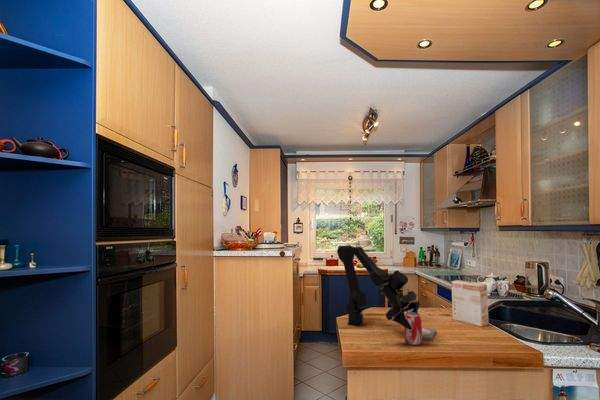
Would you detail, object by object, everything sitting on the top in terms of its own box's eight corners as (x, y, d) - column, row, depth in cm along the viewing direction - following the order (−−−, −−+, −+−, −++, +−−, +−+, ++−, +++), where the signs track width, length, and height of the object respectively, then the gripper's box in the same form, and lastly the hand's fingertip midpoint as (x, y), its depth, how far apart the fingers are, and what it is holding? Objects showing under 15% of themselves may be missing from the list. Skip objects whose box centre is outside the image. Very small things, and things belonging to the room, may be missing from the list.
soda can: (423, 346, 138) (422, 316, 138) (405, 345, 139) (404, 316, 140) (421, 340, 145) (420, 311, 145) (403, 339, 146) (403, 311, 147)
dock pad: (403, 335, 150) (403, 332, 150) (409, 328, 160) (409, 325, 161) (431, 340, 144) (431, 337, 144) (436, 332, 154) (436, 329, 154)
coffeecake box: (489, 324, 165) (487, 283, 166) (481, 327, 161) (479, 285, 162) (459, 316, 177) (458, 279, 178) (452, 319, 173) (450, 281, 174)
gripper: (390, 288, 141) (414, 321, 131) (416, 282, 152) (440, 312, 143) (376, 304, 146) (398, 336, 137) (402, 297, 158) (424, 326, 149)
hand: (416, 327), depth 141 cm, fingers closed on soda can, 7 cm apart
